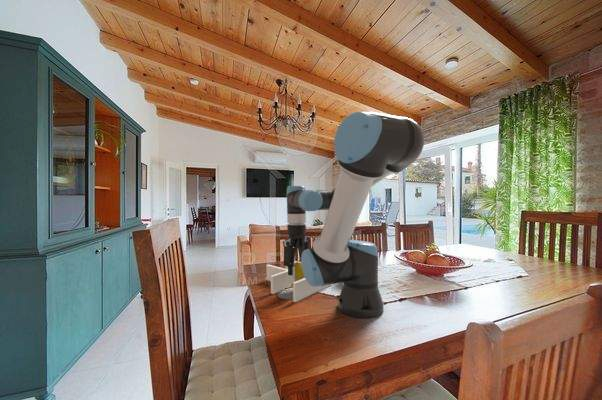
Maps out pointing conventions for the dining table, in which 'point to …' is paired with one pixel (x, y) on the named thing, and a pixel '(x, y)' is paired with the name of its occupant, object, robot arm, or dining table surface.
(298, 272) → the lemon
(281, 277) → the bent lane
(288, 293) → the pad
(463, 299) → the dining table surface
